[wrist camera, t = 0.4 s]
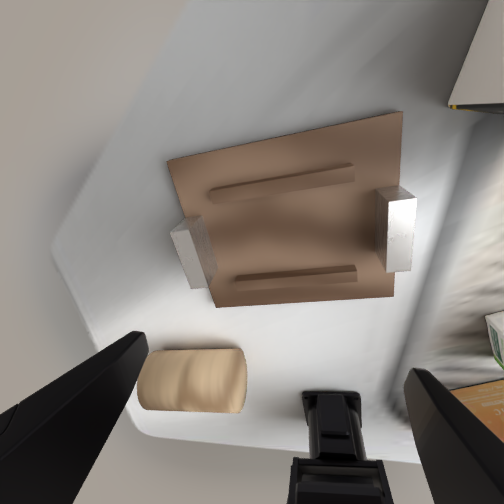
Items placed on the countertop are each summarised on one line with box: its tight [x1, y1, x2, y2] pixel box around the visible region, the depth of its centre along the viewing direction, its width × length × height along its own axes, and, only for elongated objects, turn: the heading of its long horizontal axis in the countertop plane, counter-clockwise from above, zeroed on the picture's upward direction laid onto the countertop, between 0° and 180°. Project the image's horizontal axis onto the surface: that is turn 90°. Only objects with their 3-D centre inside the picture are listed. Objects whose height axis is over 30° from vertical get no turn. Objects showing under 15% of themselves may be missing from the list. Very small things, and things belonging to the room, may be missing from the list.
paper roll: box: [137, 349, 247, 413], centre depth 28 cm, size 6×10×6 cm, turn 102°
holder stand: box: [166, 111, 417, 308], centre depth 20 cm, size 14×16×4 cm
